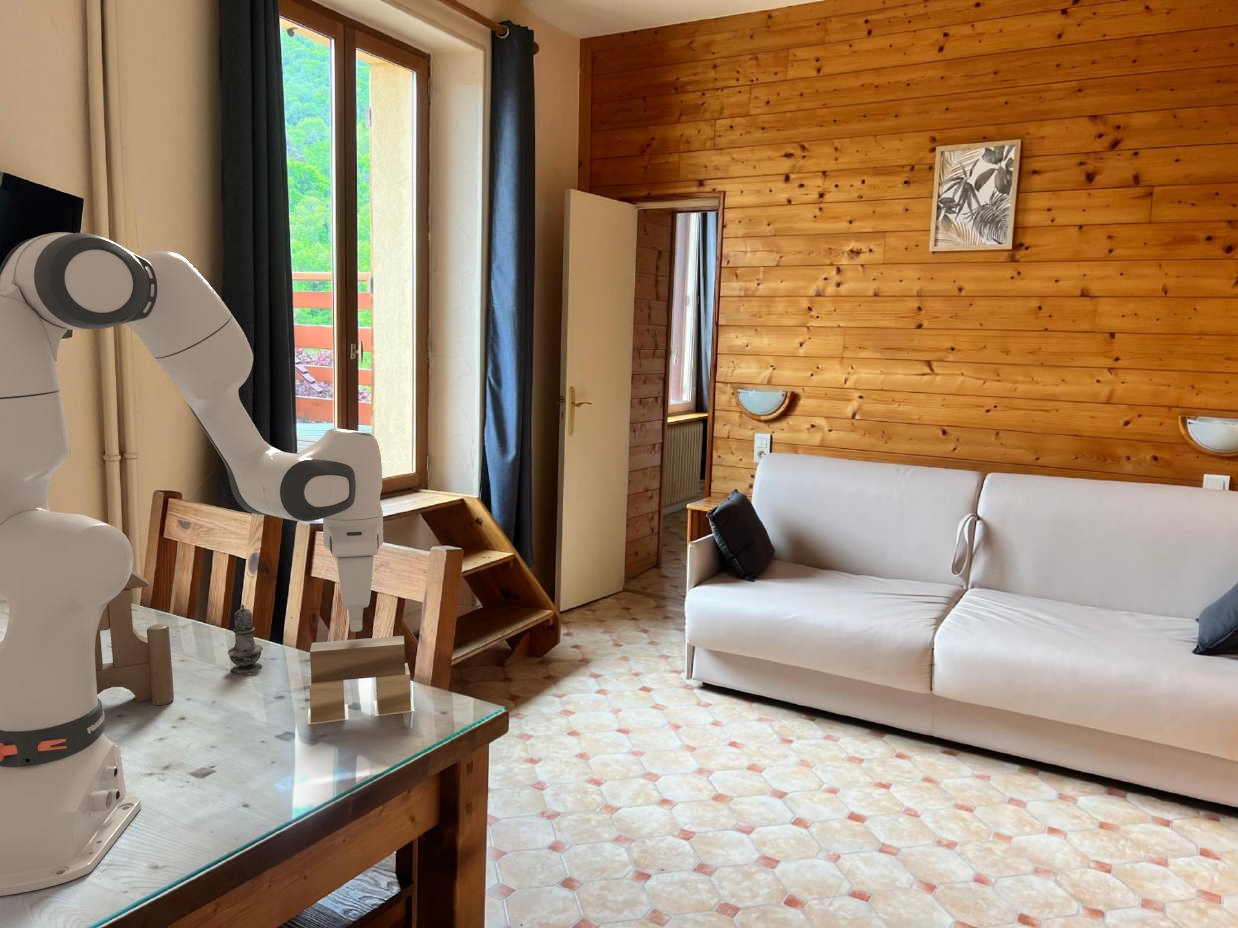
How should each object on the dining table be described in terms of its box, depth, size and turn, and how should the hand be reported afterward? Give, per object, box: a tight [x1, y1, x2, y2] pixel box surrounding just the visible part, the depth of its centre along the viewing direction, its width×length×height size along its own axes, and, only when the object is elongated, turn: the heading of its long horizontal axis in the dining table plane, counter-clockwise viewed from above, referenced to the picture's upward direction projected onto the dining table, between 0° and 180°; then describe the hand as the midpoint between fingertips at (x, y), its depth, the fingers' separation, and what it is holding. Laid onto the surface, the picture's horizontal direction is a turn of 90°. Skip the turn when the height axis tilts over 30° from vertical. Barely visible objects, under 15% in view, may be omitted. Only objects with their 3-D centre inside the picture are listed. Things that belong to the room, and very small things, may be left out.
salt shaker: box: [227, 603, 264, 676], centre depth 158 cm, size 6×6×12 cm
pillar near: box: [308, 672, 346, 723], centre depth 138 cm, size 5×5×6 cm
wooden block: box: [309, 635, 406, 683], centre depth 139 cm, size 4×14×5 cm, turn 105°
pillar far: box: [375, 662, 412, 714], centre depth 141 cm, size 5×5×6 cm
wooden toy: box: [95, 569, 175, 706], centre depth 141 cm, size 16×7×25 cm, turn 120°
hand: (355, 621), depth 138 cm, fingers open, 8 cm apart
